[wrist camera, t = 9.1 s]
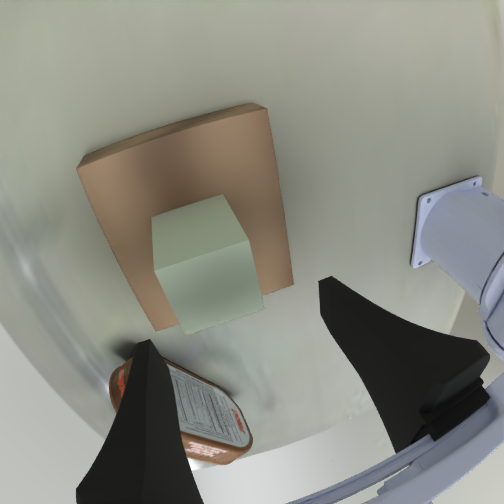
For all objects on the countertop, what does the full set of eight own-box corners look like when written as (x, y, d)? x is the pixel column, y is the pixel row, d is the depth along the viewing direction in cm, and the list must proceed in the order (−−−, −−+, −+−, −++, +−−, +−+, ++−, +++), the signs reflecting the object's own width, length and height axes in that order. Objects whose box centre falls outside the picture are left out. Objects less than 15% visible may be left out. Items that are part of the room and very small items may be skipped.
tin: (106, 350, 24) (108, 440, 17) (129, 330, 24) (136, 425, 17) (220, 404, 33) (241, 471, 26) (242, 391, 32) (267, 459, 26)
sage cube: (222, 193, 17) (248, 239, 13) (238, 253, 19) (264, 308, 15) (151, 217, 17) (154, 271, 13) (174, 274, 19) (185, 335, 15)
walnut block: (249, 101, 18) (266, 108, 15) (278, 260, 25) (293, 284, 22) (86, 153, 16) (75, 169, 14) (152, 302, 23) (155, 331, 21)
